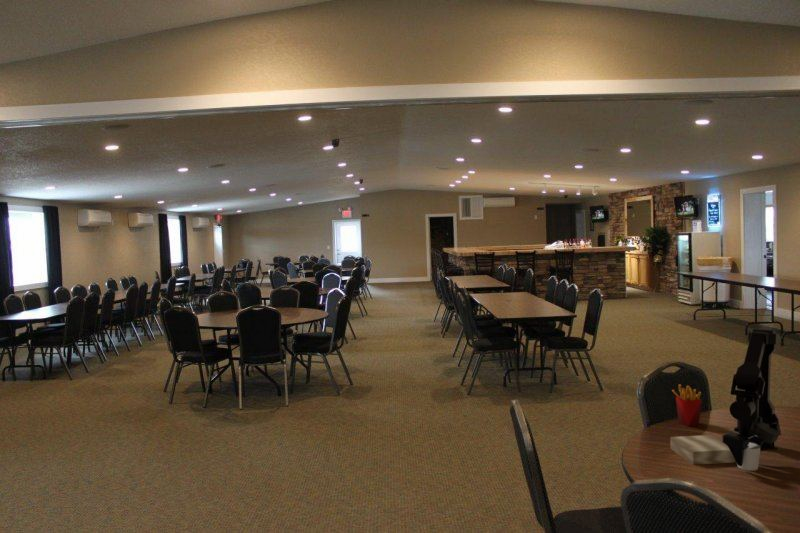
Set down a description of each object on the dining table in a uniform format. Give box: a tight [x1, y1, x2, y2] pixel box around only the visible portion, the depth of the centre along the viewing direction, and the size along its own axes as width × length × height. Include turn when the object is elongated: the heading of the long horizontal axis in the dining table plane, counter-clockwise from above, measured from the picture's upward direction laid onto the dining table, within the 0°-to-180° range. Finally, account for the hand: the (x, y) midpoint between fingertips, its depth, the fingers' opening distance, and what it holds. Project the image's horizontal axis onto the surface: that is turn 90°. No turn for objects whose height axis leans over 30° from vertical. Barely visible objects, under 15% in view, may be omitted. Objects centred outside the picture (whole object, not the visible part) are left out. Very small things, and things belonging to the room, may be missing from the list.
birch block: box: [669, 434, 737, 466], centre depth 197 cm, size 14×14×4 cm
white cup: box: [736, 442, 761, 472], centre depth 187 cm, size 7×7×7 cm
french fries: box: [671, 384, 703, 427], centre depth 228 cm, size 9×8×15 cm
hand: (747, 462), depth 187 cm, fingers open, 9 cm apart
